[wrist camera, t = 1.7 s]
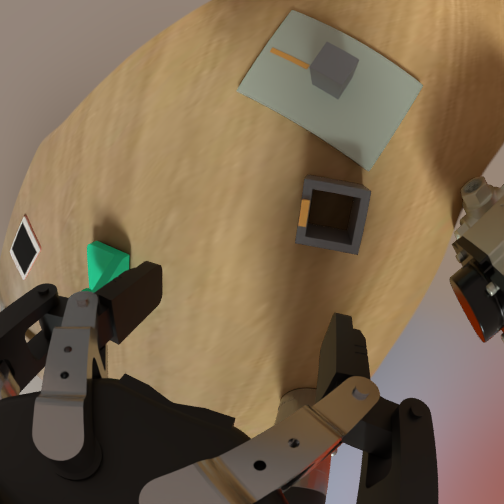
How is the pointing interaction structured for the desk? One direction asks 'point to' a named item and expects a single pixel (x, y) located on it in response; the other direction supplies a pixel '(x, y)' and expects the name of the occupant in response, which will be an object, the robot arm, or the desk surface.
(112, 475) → the robot arm
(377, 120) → the grey base with post
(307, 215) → the grey open box
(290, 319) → the desk surface
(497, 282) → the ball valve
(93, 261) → the camera mount
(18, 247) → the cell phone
